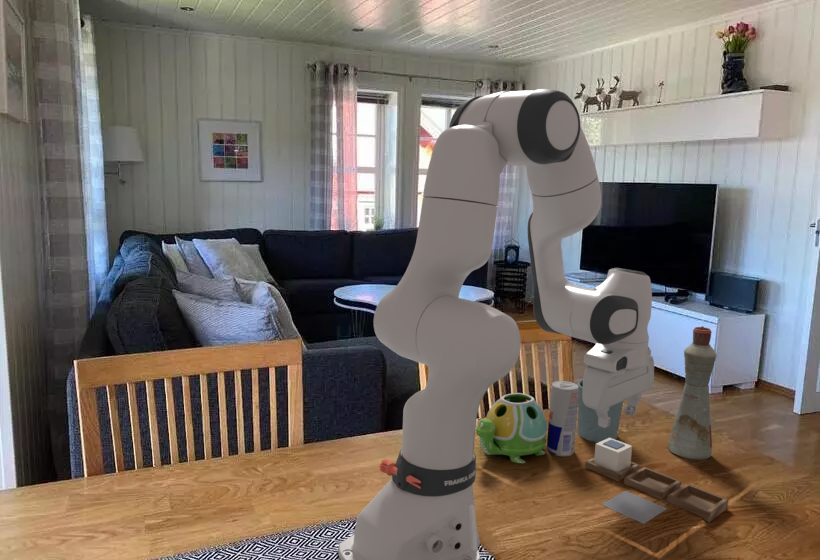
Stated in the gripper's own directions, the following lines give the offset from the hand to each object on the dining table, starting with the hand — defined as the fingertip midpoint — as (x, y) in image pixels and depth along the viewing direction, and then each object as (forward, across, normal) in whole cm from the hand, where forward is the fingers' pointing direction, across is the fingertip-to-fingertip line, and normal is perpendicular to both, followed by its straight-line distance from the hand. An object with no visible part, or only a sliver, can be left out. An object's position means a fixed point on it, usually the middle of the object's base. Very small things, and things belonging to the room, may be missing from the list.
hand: (617, 420), depth 124 cm
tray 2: (+11, +1, +8) cm, 14 cm away
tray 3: (+11, +1, +17) cm, 20 cm away
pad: (+10, +11, +10) cm, 18 cm away
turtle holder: (+11, +11, -18) cm, 23 cm away
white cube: (+10, +1, 0) cm, 10 cm away
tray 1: (+11, +1, 0) cm, 11 cm away
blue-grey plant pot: (+11, -12, -12) cm, 20 cm away
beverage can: (+11, +2, -12) cm, 16 cm away
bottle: (+11, -20, +6) cm, 24 cm away
